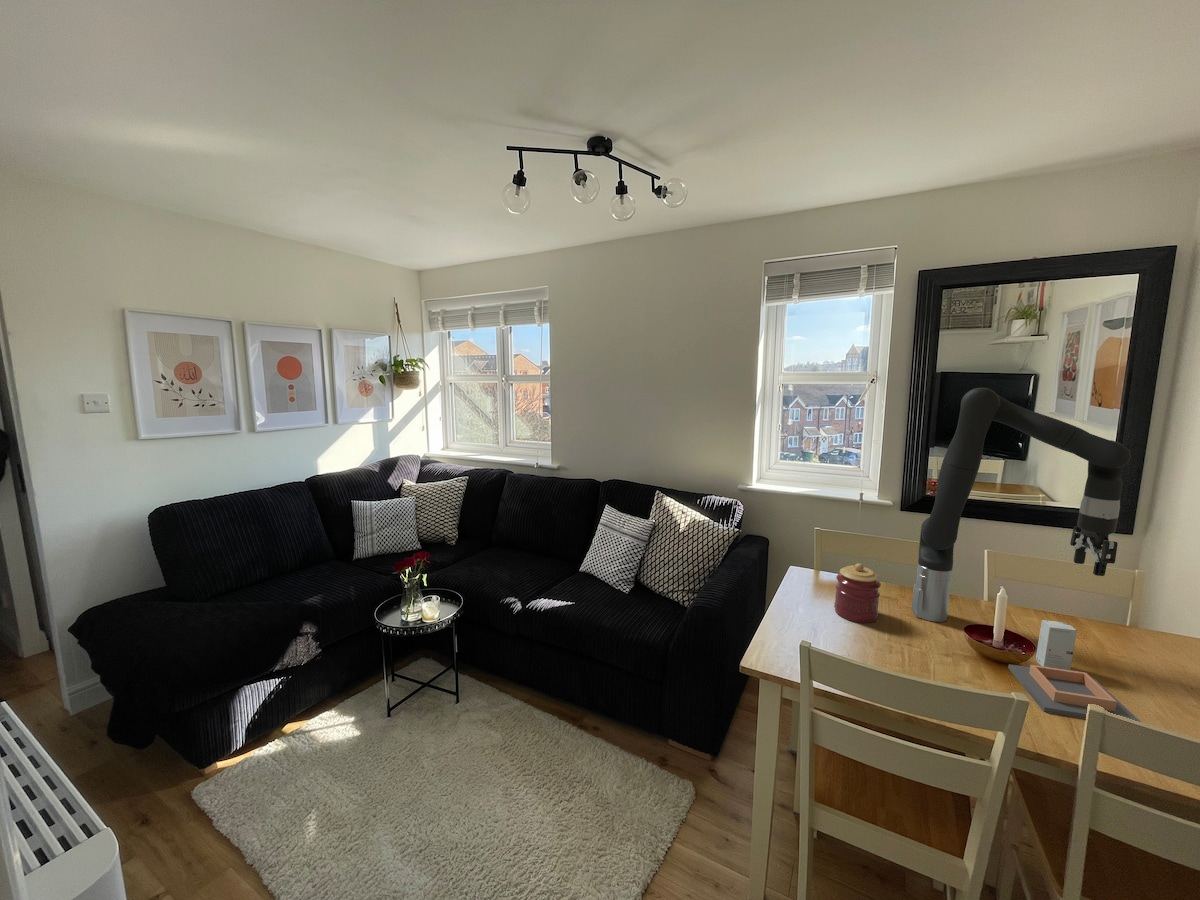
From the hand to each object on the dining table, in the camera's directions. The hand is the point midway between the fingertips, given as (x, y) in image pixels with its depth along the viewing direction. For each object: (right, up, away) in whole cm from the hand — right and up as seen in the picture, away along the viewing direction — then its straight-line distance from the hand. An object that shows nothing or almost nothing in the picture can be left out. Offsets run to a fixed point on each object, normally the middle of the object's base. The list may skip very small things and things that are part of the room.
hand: (1088, 569), depth 137 cm
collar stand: (-20, -28, -15) cm, 37 cm away
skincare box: (-13, -26, -3) cm, 29 cm away
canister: (-51, -22, +26) cm, 62 cm away
